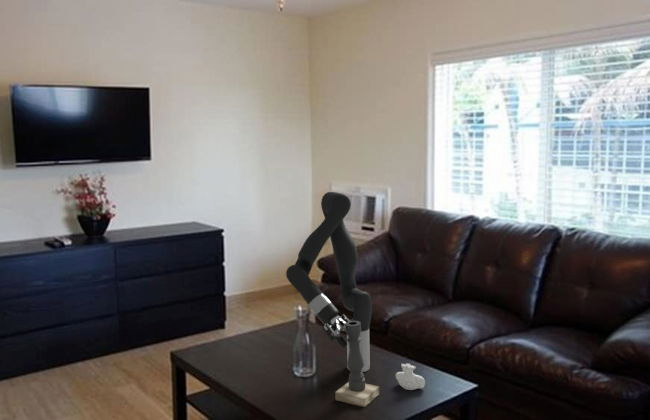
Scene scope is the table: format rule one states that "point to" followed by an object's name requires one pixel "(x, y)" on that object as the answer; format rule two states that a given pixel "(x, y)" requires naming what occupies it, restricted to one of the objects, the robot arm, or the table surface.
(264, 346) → the table surface
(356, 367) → the candle holder
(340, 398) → the birch plate
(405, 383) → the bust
